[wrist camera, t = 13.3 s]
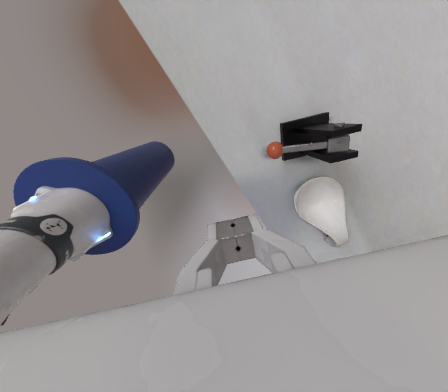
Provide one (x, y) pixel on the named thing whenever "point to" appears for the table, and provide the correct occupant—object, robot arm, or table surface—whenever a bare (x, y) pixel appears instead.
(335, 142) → the power lever
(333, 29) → the table surface
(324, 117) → the switch bracket
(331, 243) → the spoon rest
